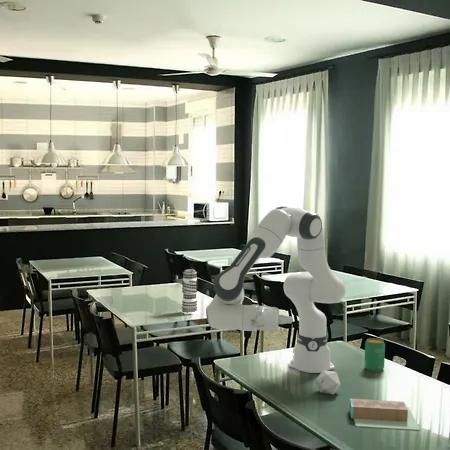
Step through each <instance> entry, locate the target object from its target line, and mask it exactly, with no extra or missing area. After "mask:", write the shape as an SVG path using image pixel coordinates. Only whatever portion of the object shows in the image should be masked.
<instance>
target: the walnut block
mask: <svg viewBox="0 0 450 450" xmlns="http://www.w3.org/2000/svg"><path fill="white" fill-rule="evenodd" d="M348 404H349V405H348V406H349V407H348V408H349V409H348V411H349V416H350V418H351V419H353V420H354V419H370V420H386V421H403V422H407V418H408V409H407V407H408V406H407V405H406V403H405V401H398V400H382V399H381V400H378V399H364V398H363V399H362V398H349V403H348Z"/></svg>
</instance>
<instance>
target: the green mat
mask: <svg viewBox="0 0 450 450" xmlns="http://www.w3.org/2000/svg"><path fill="white" fill-rule="evenodd" d="M406 407H407V409H408V418H407V422H403V421H386V420H370V419H353V420H354V424H355V425H354V426H355V427H357V428H358V427H360V428H373V429H374V428H375V429H389V430H390V429H393V430H405V431H407V430H408V431H409V430H410V431H411V430H412V431H421V428H420V427H419V425H418V422H417V421H416V419H415V417H414V415H413V413H412V411H411V409H410V407H408V406H406Z"/></svg>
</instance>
